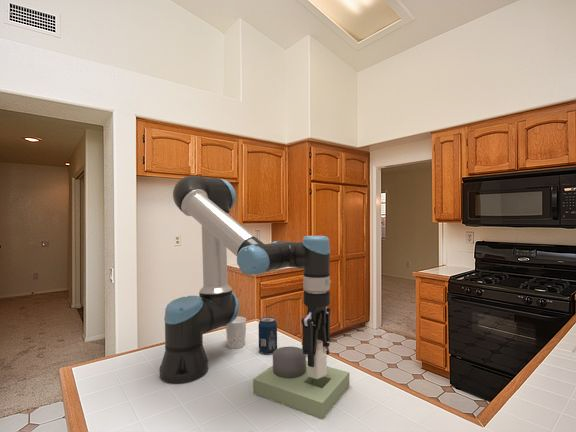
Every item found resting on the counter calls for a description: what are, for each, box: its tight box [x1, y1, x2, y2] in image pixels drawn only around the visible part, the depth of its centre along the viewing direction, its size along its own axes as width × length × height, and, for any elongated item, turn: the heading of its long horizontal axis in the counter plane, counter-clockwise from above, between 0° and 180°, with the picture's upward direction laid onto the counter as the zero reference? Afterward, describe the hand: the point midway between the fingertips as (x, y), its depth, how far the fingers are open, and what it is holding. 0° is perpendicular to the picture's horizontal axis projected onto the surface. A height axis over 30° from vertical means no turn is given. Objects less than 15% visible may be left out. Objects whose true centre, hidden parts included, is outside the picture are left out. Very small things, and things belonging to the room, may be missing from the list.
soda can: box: [258, 316, 278, 355], centre depth 118 cm, size 7×7×12 cm
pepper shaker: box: [316, 340, 328, 379], centre depth 89 cm, size 4×4×10 cm
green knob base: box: [252, 346, 350, 420], centre depth 92 cm, size 22×18×9 cm
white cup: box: [225, 316, 247, 349], centre depth 124 cm, size 8×8×10 cm
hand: (317, 372), depth 89 cm, fingers closed on pepper shaker, 5 cm apart
